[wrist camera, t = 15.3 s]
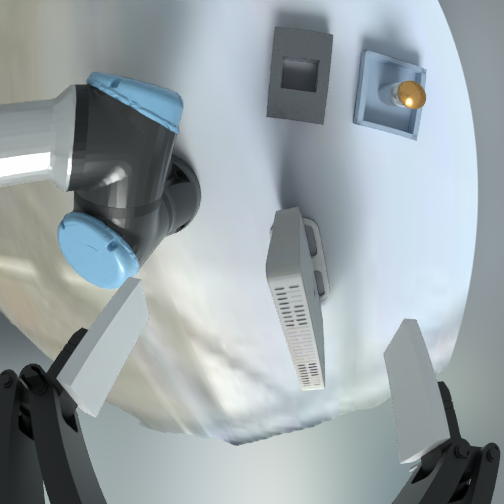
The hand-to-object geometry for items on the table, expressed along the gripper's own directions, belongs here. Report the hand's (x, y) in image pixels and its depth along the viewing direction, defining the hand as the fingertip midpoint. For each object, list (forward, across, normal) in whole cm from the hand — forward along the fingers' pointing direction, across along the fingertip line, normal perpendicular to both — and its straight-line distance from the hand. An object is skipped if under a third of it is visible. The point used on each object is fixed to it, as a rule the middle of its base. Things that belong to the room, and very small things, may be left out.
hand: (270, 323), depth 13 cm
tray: (+35, +14, +14) cm, 40 cm away
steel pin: (+34, +14, +14) cm, 39 cm away
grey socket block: (+35, 0, +14) cm, 37 cm away
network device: (+35, +5, -19) cm, 40 cm away
